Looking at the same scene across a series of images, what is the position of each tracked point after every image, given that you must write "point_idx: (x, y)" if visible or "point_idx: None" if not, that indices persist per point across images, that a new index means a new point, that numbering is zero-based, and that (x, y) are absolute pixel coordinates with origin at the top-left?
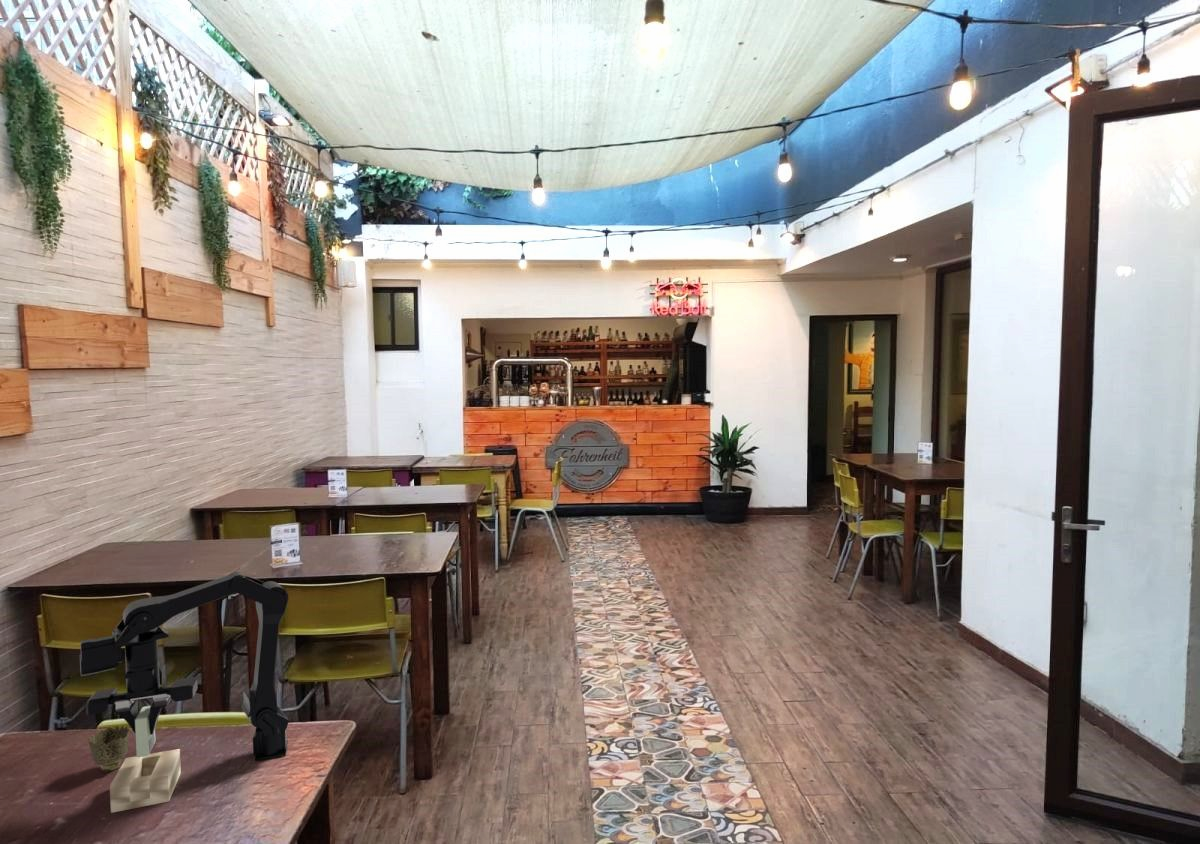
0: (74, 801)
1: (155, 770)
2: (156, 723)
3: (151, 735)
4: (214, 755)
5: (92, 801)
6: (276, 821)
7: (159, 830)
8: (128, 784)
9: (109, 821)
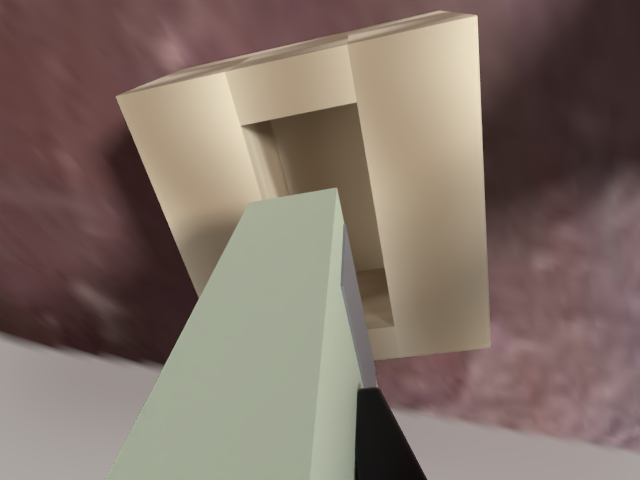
0: (43, 188)
1: (401, 289)
2: (416, 461)
3: (359, 378)
4: None
5: (124, 203)
6: None
7: (476, 409)
8: None
9: None
